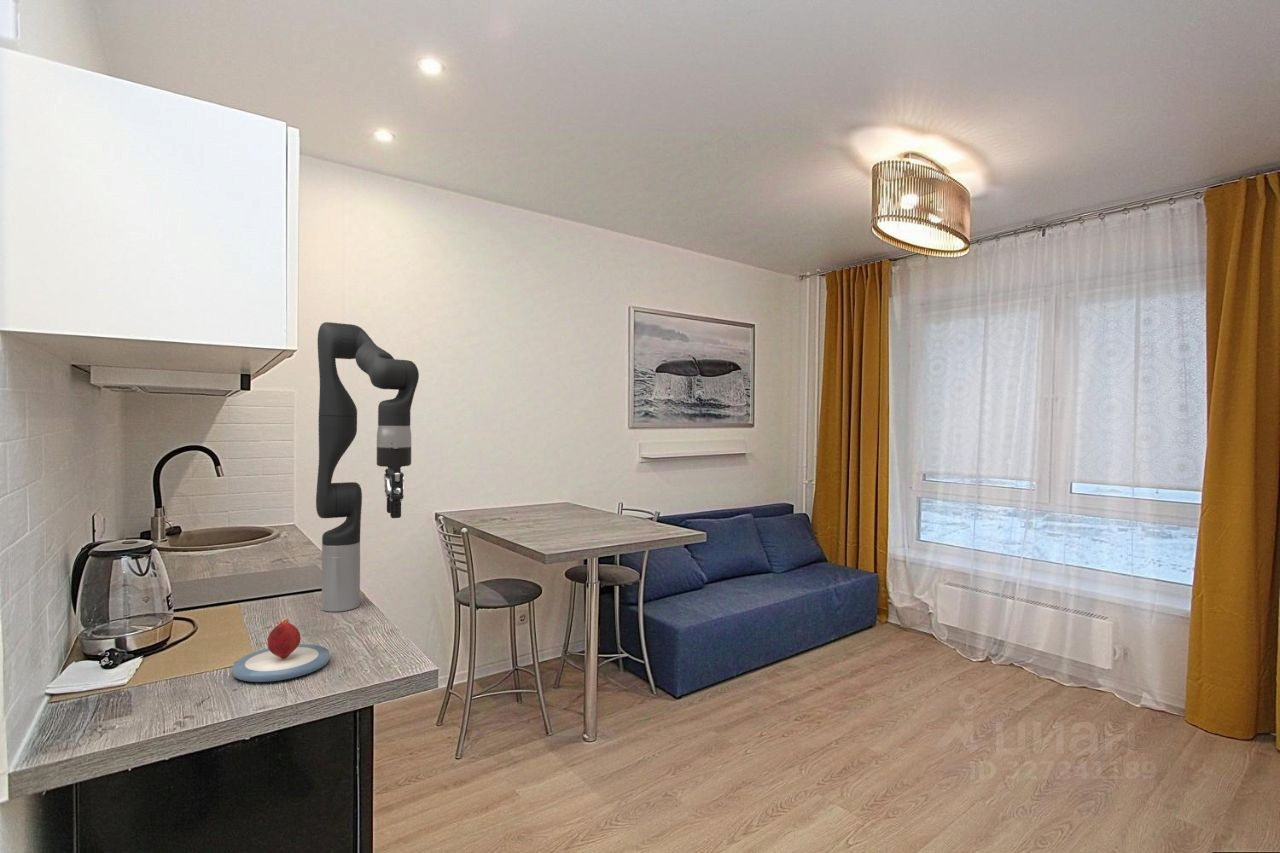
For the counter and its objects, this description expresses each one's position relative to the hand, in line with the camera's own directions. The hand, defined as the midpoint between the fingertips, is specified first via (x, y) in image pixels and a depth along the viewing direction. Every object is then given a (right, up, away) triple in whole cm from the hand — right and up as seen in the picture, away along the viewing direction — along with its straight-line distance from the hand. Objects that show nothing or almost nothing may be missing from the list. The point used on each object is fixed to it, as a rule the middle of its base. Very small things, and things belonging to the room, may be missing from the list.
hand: (393, 515), depth 150 cm
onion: (-15, -26, -19) cm, 36 cm away
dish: (-15, -28, -19) cm, 37 cm away
